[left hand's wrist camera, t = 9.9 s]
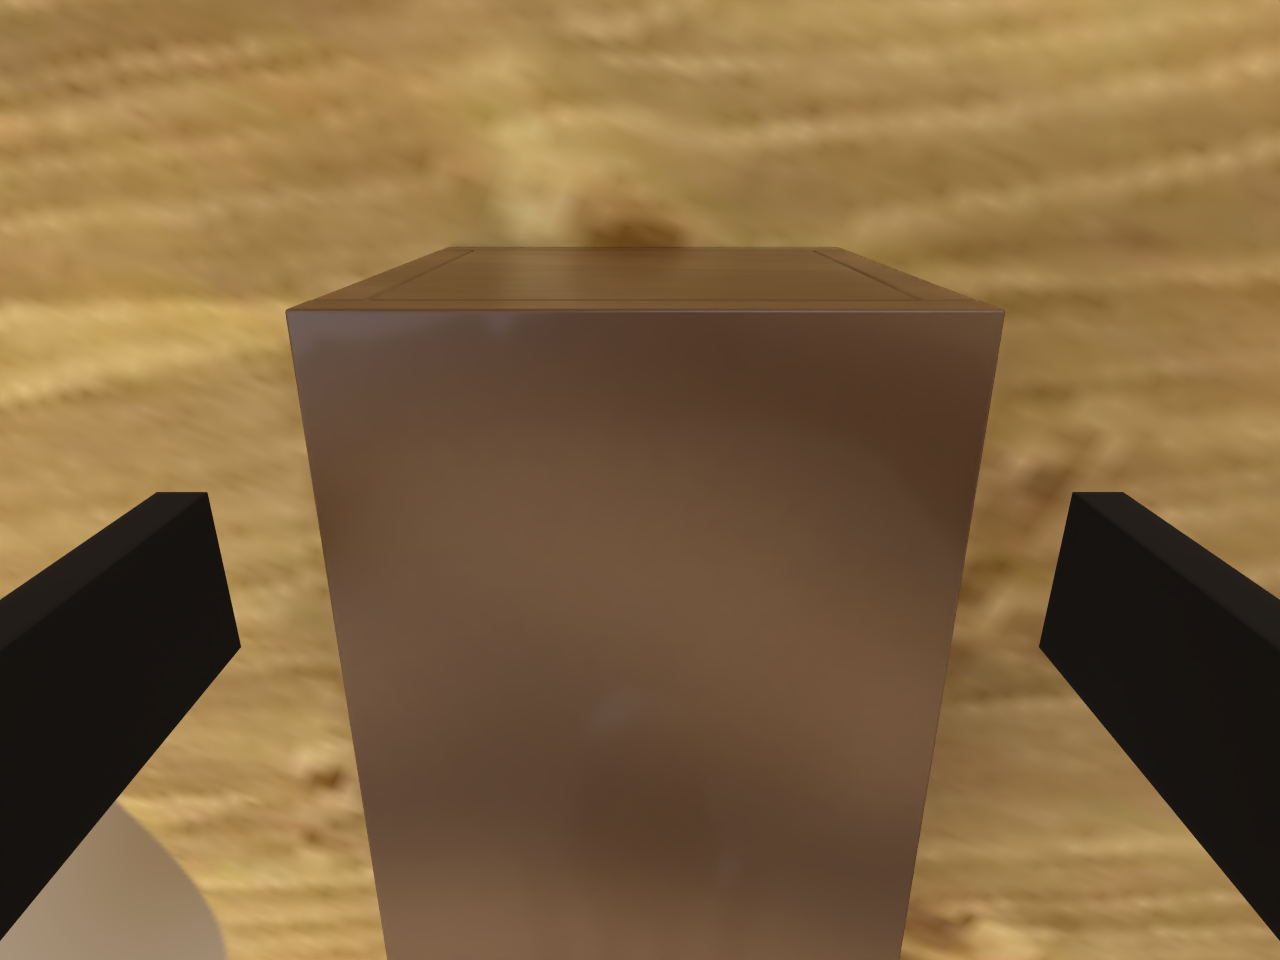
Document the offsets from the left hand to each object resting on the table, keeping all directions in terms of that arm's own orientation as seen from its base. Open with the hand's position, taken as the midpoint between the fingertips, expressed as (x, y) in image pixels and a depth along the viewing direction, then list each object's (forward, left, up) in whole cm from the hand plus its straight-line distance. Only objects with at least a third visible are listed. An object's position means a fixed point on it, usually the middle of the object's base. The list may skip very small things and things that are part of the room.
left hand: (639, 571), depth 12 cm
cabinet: (+6, -3, -12) cm, 13 cm away
